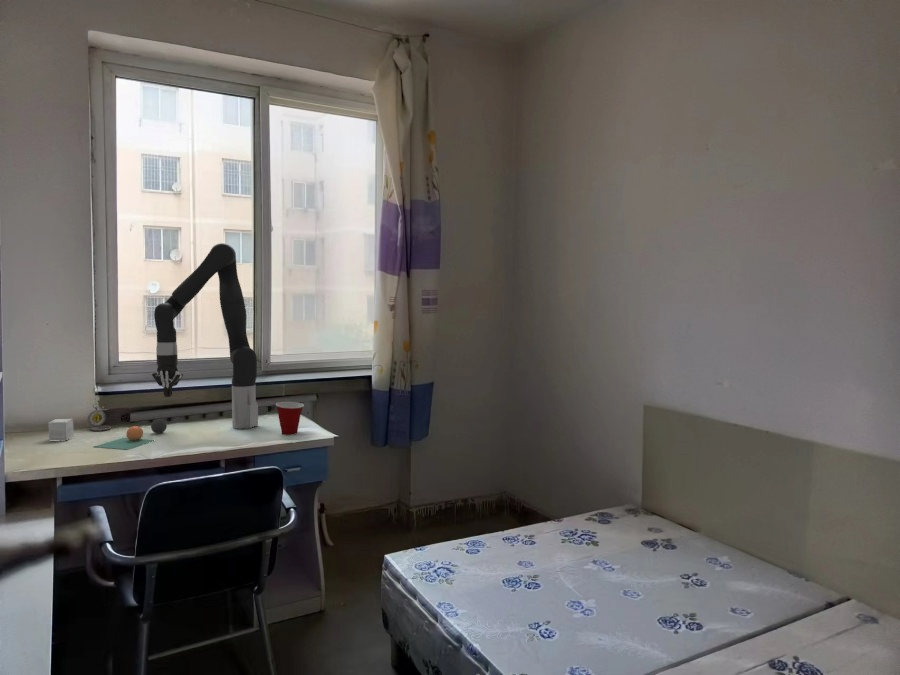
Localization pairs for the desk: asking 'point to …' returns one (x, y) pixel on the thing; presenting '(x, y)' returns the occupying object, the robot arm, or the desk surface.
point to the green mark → (124, 443)
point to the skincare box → (61, 429)
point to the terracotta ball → (134, 433)
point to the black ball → (158, 426)
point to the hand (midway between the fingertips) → (168, 396)
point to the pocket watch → (97, 419)
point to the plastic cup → (289, 416)
